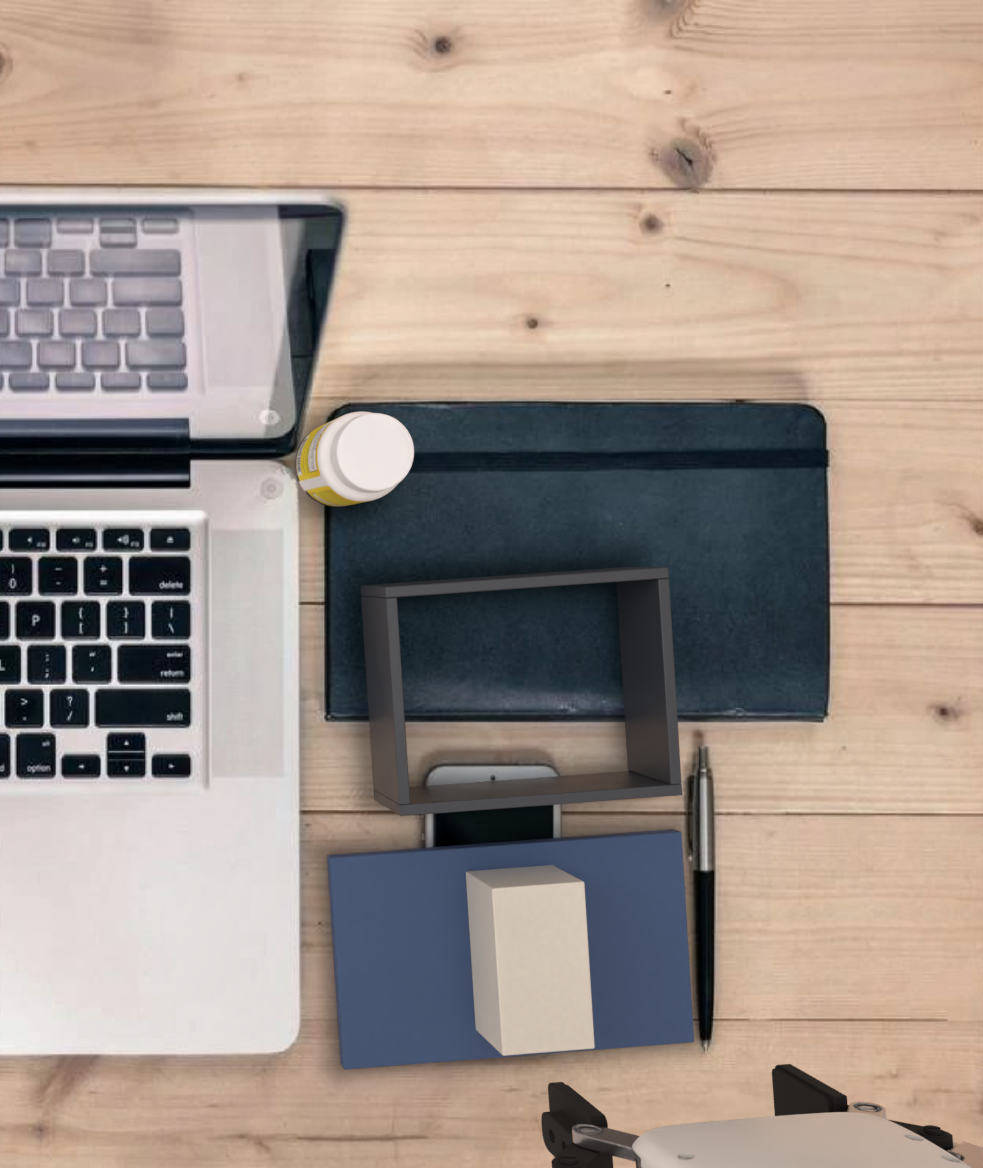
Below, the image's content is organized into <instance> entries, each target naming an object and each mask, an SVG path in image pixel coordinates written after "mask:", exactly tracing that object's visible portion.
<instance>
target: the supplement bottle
mask: <svg viewBox="0 0 983 1168" xmlns="http://www.w3.org/2000/svg"><path fill="white" fill-rule="evenodd" d="M414 445H415V444H414V440H413V438H412V436H411V434H410V432H409V430H408V428H406V426H405V424H403V423H402V422H400V421H399V420H398V419H397V418H395V417H394V416H391V415H388V414H386V413H385V414H384V413H379V412H371V411H354V412H353V411H352V412H348V413H345V414H343V415H341V416H338V417H337V418H334V419H332V420H330V421H328V422H325V423H324V424H322V425H319V426H317V427H316V428H313V429H312V430H311V431H310V432H309V433H308V434H307V435H306V436H305V437H304V438H303V439H302V441H301V442H300V444H299V446H298V448H297V451H296V455H295V461H294V471H295V475H296V479H297V482H298V483H299V485H300V487H301V488H302V490H303V491H304V493H305V494H306V495H307V496H308V497H309V498H310V499H312V500H313V501H315V502H317V503H319V504H320V505H323V506H327V507H334V508H340V507H346V506H347V507H348V506H352V505H357V504H362V503H367V502H372V501H375V500H379V499H381V498H383V497H384V496H386V495H389V493H391V492H392V491H393V490H394V489H395V488H396V487H397V486H398V485H399V484H400V483H401V482H402V481H403V480H404V479H405V478H406V476H407V475H408V474H409V472H410V470H411V468H412V467H413V463H414V460H415V459H414V458H415V446H414Z"/></svg>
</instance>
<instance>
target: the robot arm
mask: <svg viewBox="0 0 983 1168" xmlns="http://www.w3.org/2000/svg"><path fill="white" fill-rule="evenodd" d="M771 1083H772V1095H773V1111H774V1115H772V1116H771V1115H770V1116H760V1117H759V1116H758V1117H746V1118H734V1119H720V1120H710V1121H700V1122H699V1121H698V1122H689V1123H678V1124H670V1125H664V1126H659V1127H655V1128H652V1129H648V1130H646V1131H645V1132H643V1133H642V1134H640V1135H637V1134H634V1133H629V1132H625V1131H621V1130H617V1129H614V1128H609V1123H608V1120H607V1117H606V1115H605V1114H604V1113H603V1112H602V1111H601V1110H599V1109H598V1108H597V1107H596V1106H594V1105H593V1104H592V1103H591V1102H589V1101H588V1100H587V1099H586V1098H584V1097H583V1096H582V1095H581V1094H580V1093H578V1092H577V1091H576V1090H575V1089H574V1088H572V1086H570V1085H569V1084H566V1083H565V1082H563V1081H554V1082H548V1084H547V1095H548V1110H549V1111H543V1112H541V1116H540V1117H541V1118H540V1119H541V1120H540V1123H541V1134H542V1139H543V1142H544V1146H545V1147H546V1149H547V1151H548V1152H549V1153H550V1154H551V1155H552V1156H553V1157H554V1158H552V1159H551V1168H614V1158H613V1157H615V1158H620V1159H623V1160H627V1161H630V1162H634V1163H635V1168H983V1146H981V1145H977V1144H973V1143H970V1142H966V1141H963V1142H961V1143H957V1142H954V1137H953V1134H952V1133H950V1132H948V1131H946V1130H943V1129H941V1127H940V1126H937V1125H932V1124H926V1125H919V1124H915V1123H909V1122H903V1121H898V1120H893V1119H888V1118H887V1110H886V1108H885V1107H884V1106H883V1105H881V1104H878V1103H875V1102H870V1101H854V1102H851V1103H849V1104H848V1096H847V1095H845V1094H844V1093H842V1092H840V1091H839V1090H837V1089H835V1088H834V1087H832V1086H830V1085H828V1084H827V1083H825V1082H823V1081H821V1080H820V1079H818V1078H816V1077H814V1076H813V1075H810V1074H809V1073H807V1072H806V1071H804V1070H802V1069H800V1068H799V1067H797V1066H795V1065H793V1064H791V1063H785V1064H776V1065H775V1066H774V1068H772V1069H771Z"/></svg>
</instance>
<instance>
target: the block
mask: <svg viewBox="0 0 983 1168" xmlns="http://www.w3.org/2000/svg"><path fill="white" fill-rule="evenodd" d="M466 885H467V901H468V916H469V932H470V948H471V963H472V979H473V994H474V1010H475V1025H476V1030H477V1031H478V1032H479V1033H480V1034H481V1035H482V1036H483V1037H484V1038H485V1039H486V1040H487V1041H488V1042H489V1043H490V1044H491V1045H492V1046H493V1047H495V1048H496V1049H497V1050H498V1051H499V1052H500V1053H501V1054H502V1055H503V1056H506V1055H518V1054H531V1053H544V1052H556V1051H569V1050H582V1049H594V1048H595V1045H594V1029H593V1013H592V997H591V982H590V966H589V950H588V934H587V918H586V902H585V886H584V882H583V881H582V880H580V879H578V878H576V877H574V876H572V875H570V874H568V873H567V872H565V871H563V870H561V869H559V868H557V867H555V866H553V865H545V866H532V867H519V868H506V869H492V870H479V871H467V872H466Z"/></svg>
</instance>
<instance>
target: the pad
mask: <svg viewBox="0 0 983 1168" xmlns="http://www.w3.org/2000/svg"><path fill="white" fill-rule="evenodd" d="M682 836H683V835H682V831H680V830H677V829H674V828H670V829H656V830H646V831H645V830H644V831H632V832H629V831H628V832H618V833H605V834H603V833H602V834H591V835H578V836H577V835H576V836H565V837H552V838H551V837H550V838H537V839H525V840H511V841H495V842H482V843H471V844H457V845H456V844H455V845H444V846H431V847H416V848H415V847H414V848H403V849H390V850H380V851H379V850H377V851H364V852H362V851H361V852H349V853H335V854H327V856H326V864H327V878H328V879H327V880H328V895H329V910H330V925H331V942H332V952H333V953H332V955H333V970H334V986H335V987H334V988H335V1000H336V1016H337V1030H338V1031H337V1032H338V1034H337V1035H338V1047H339V1064H340V1066H341V1068H342V1069H343V1070H345V1071H346V1070H347V1071H348V1070H357V1069H371V1068H382V1067H383V1068H384V1067H396V1066H397V1067H398V1066H409V1065H421V1064H435V1063H447V1062H459V1061H472V1060H473V1061H474V1060H486V1059H498V1058H510V1057H512V1058H513V1057H522V1056H525V1057H526V1056H536V1055H549V1054H562V1053H573V1052H574V1053H575V1052H588V1051H599V1050H601V1051H602V1050H613V1049H614V1050H615V1049H625V1048H637V1047H639V1048H640V1047H651V1046H664V1045H665V1046H666V1045H675V1044H676V1045H677V1044H688V1043H689V1044H690V1043H694V1042H695V1033H694V1031H695V1029H694V1016H693V1015H694V1014H693V1001H692V999H693V998H692V983H691V968H690V967H691V966H690V950H689V936H688V917H687V902H686V886H685V870H684V853H683V837H682ZM545 865H553V866H555V867H557V868H559V869H561V870H563V871H565V872H567V873H568V874H570V875H572V876H574V877H576V878H578V879H580V880H582V881H583V882H584V886H585V902H586V918H587V934H588V950H589V966H590V982H591V997H592V1013H593V1029H594V1045H595V1048H594V1049H582V1050H569V1051H556V1052H544V1053H531V1054H518V1055H506V1056H503V1055H502V1054H501V1053H500V1052H499V1051H498V1050H497V1049H496V1048H495V1047H493V1046H492V1045H491V1044H490V1043H489V1042H488V1041H487V1040H486V1039H485V1038H484V1037H483V1036H482V1035H481V1034H480V1033H479V1032H478V1031H477V1030H476V1025H475V1010H474V994H473V979H472V963H471V948H470V932H469V916H468V901H467V885H466V872H467V871H479V870H492V869H506V868H519V867H532V866H545Z"/></svg>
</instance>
